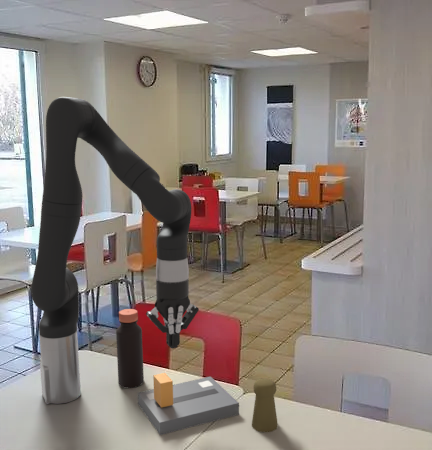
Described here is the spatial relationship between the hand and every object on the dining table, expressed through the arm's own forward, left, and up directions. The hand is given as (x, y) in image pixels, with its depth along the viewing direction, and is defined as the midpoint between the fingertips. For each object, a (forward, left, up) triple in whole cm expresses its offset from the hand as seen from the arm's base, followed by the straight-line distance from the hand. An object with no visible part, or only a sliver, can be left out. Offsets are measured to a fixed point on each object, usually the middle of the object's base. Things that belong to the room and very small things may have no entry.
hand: (173, 347), depth 135 cm
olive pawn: (+16, -15, -17) cm, 28 cm away
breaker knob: (-3, 0, -13) cm, 13 cm away
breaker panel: (+3, 0, -16) cm, 17 cm away
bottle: (-5, +20, -17) cm, 26 cm away
